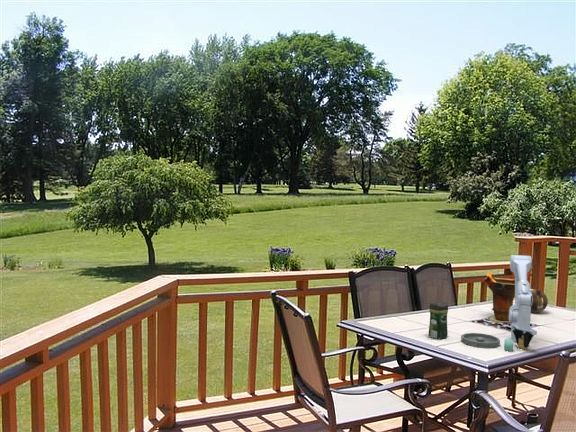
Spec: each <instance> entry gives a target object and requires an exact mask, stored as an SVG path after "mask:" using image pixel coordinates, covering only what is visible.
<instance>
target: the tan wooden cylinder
mask: <svg viewBox="0 0 576 432" xmlns="http://www.w3.org/2000/svg"><path fill="white" fill-rule="evenodd" d="M518 348H519V350H521V349H522V350H521V351H527V350H528V347H526V348H525V347H524V338H519V339H518V345H517V349H518Z"/></svg>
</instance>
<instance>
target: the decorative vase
mask: <svg viewBox="0 0 576 432" xmlns="http://www.w3.org/2000/svg"><path fill="white" fill-rule="evenodd" d="M483 285H485V286H487V288H488V289H489V290H490V291H491V292H492V308H491V311H493V314H494V315H491V316H487V317H486V320H489V321H491V322H494V323H501V324H502V323H506V324H507V323H509V324H512V323H511V322H510V321H509V309H510V307H511V306H513V305H514V301H515V278H513V279H512V278H501V277H495V276H494V272H491V271H490V272H488V273H486V278H484V279H483Z"/></svg>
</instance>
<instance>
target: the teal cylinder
mask: <svg viewBox="0 0 576 432" xmlns="http://www.w3.org/2000/svg"><path fill="white" fill-rule="evenodd" d="M503 345H504V346H503V348H504V349H503V351H504V350H505V351H504V352H507V351H508V352H509V353H512V352H514V341H513V340H510V338H506V339H504V344H503Z"/></svg>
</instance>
